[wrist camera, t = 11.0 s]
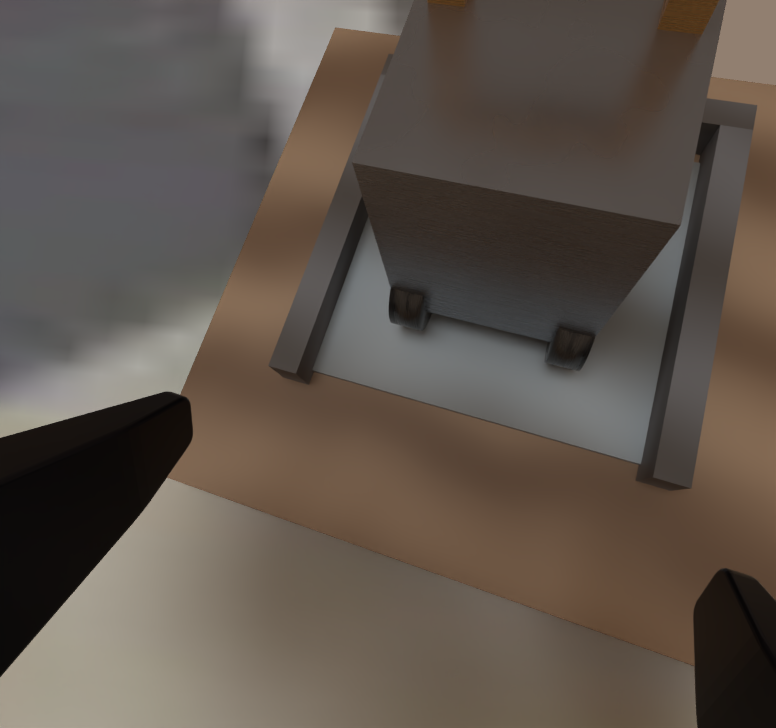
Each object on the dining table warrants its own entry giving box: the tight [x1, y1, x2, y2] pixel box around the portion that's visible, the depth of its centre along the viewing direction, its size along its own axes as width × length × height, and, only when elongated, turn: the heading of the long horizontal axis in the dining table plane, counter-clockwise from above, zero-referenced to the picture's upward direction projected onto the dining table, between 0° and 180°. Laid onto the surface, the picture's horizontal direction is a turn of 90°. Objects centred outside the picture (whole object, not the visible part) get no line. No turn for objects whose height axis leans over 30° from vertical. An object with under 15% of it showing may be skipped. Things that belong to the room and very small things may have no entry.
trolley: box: [352, 0, 726, 371], centre depth 12 cm, size 6×6×12 cm
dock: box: [167, 28, 776, 666], centre depth 19 cm, size 20×20×4 cm
